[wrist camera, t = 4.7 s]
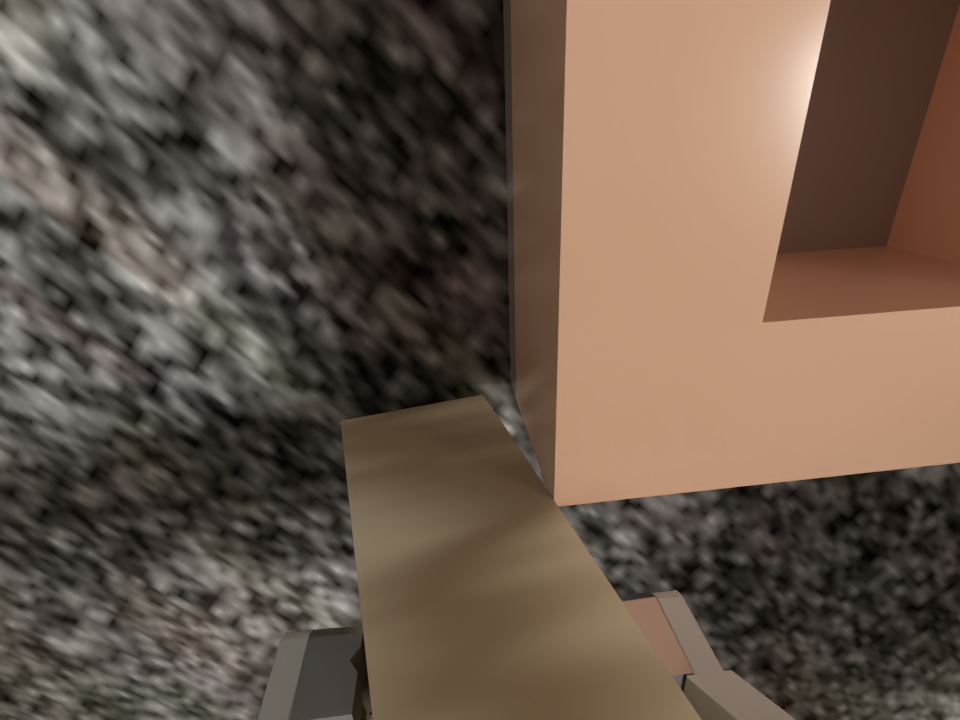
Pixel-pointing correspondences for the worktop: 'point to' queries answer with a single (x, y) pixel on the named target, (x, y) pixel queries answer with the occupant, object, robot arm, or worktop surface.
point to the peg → (484, 582)
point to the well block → (732, 240)
